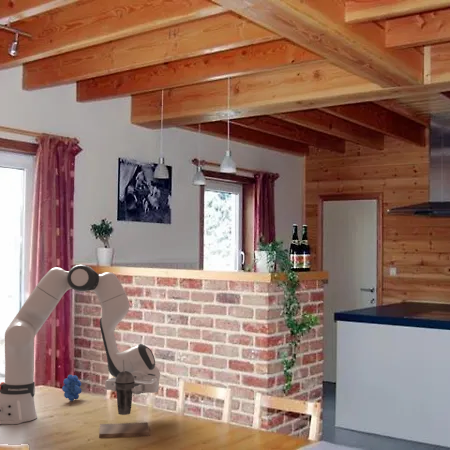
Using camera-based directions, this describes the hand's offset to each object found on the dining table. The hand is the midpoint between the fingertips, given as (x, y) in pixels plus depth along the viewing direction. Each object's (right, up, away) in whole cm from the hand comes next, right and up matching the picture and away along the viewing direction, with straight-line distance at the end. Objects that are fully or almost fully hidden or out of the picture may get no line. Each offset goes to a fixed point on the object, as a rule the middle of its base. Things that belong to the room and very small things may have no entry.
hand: (123, 389), depth 250 cm
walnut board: (0, -16, 0) cm, 16 cm away
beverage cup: (0, -9, +1) cm, 9 cm away
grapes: (-30, -18, +49) cm, 60 cm away
